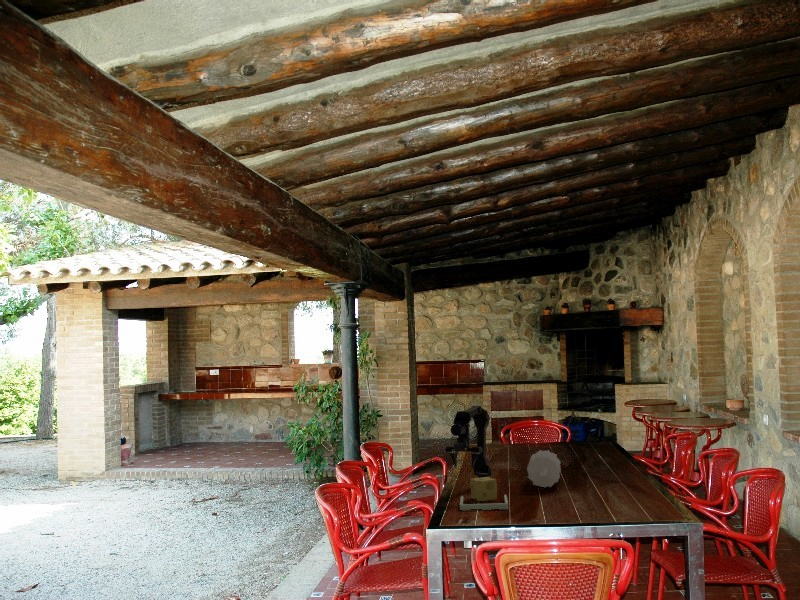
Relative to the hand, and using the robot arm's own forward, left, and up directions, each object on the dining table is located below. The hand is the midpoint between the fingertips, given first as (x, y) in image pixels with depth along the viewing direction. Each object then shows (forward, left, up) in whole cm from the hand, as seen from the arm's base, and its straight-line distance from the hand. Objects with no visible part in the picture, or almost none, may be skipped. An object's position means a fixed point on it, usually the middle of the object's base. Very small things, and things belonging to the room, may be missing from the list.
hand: (464, 467), depth 358 cm
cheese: (+1, +10, -15) cm, 19 cm away
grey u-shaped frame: (+13, +16, -15) cm, 26 cm away
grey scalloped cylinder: (-40, +27, -15) cm, 51 cm away
